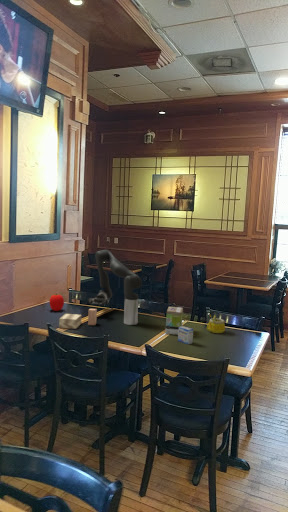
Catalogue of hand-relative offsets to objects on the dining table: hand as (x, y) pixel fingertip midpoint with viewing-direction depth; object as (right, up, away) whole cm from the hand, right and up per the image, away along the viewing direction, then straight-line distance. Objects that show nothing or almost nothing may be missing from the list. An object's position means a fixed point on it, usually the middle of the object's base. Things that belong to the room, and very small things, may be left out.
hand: (96, 303), depth 257 cm
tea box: (+53, -16, -19) cm, 59 cm away
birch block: (-15, -13, -16) cm, 25 cm away
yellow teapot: (+80, -17, -17) cm, 84 cm away
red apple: (-33, -9, +23) cm, 41 cm away
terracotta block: (-1, -13, -10) cm, 16 cm away
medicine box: (+58, -18, -41) cm, 73 cm away
